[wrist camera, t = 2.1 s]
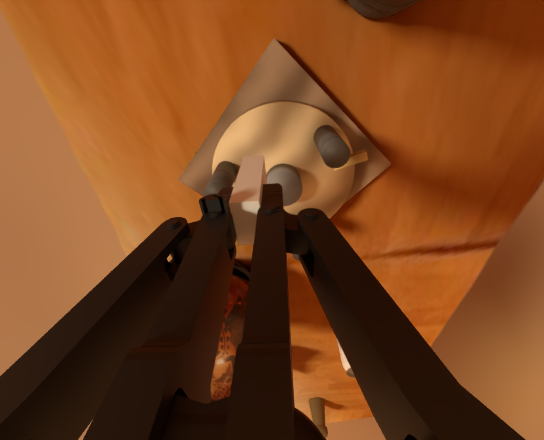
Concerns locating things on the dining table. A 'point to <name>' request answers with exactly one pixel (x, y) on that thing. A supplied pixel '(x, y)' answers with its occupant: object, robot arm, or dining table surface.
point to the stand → (282, 86)
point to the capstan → (290, 155)
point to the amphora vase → (230, 332)
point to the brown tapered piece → (318, 414)
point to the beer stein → (380, 7)
